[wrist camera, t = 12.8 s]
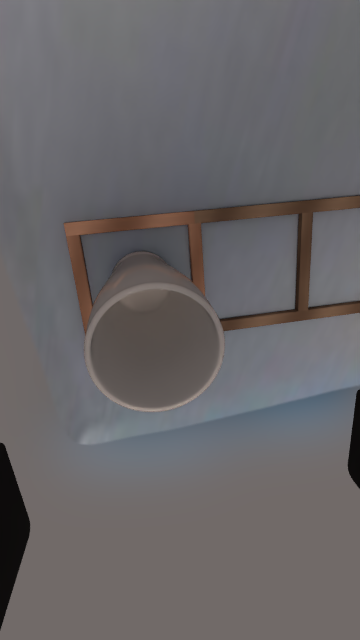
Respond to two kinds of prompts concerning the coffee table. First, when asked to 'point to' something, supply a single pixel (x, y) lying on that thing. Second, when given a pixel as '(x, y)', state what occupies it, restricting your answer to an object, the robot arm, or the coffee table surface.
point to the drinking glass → (152, 336)
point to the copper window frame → (196, 255)
